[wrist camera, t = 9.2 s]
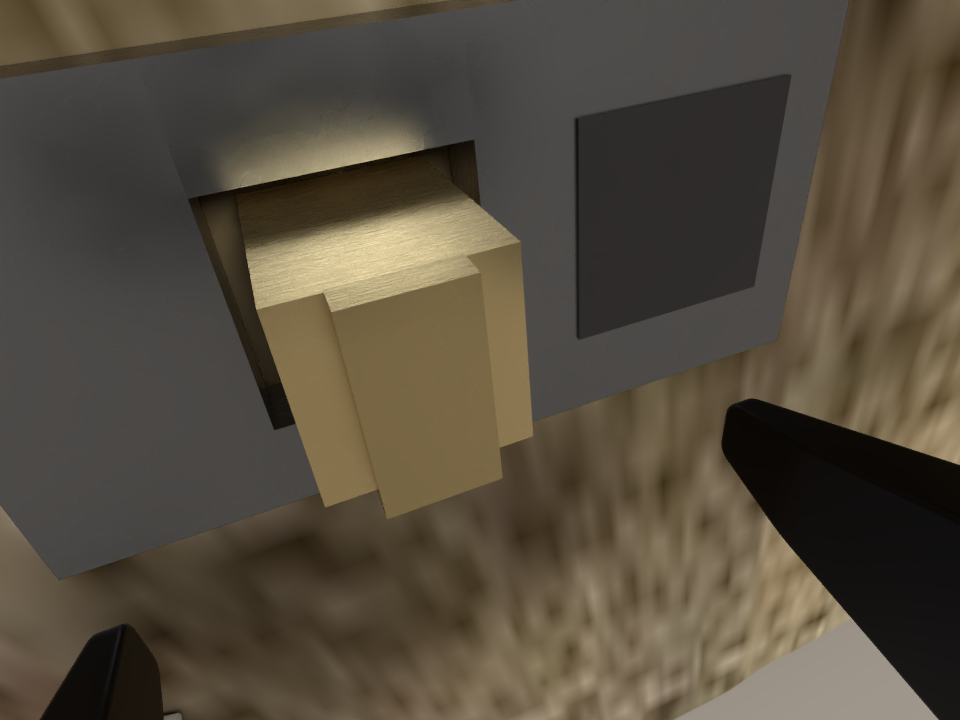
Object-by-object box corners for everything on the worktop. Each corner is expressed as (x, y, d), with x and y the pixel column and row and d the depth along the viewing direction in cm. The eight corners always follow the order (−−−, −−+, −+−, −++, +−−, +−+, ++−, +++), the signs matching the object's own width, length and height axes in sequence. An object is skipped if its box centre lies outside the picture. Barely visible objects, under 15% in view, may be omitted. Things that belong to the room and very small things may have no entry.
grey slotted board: (795, -51, 16) (863, -52, 15) (736, 313, 23) (779, 341, 21) (-225, 99, 11) (-300, 124, 9) (70, 522, 17) (58, 583, 15)
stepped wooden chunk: (421, 153, 16) (540, 256, 10) (444, 313, 18) (550, 461, 13) (234, 192, 14) (259, 331, 9) (288, 356, 17) (333, 539, 12)
